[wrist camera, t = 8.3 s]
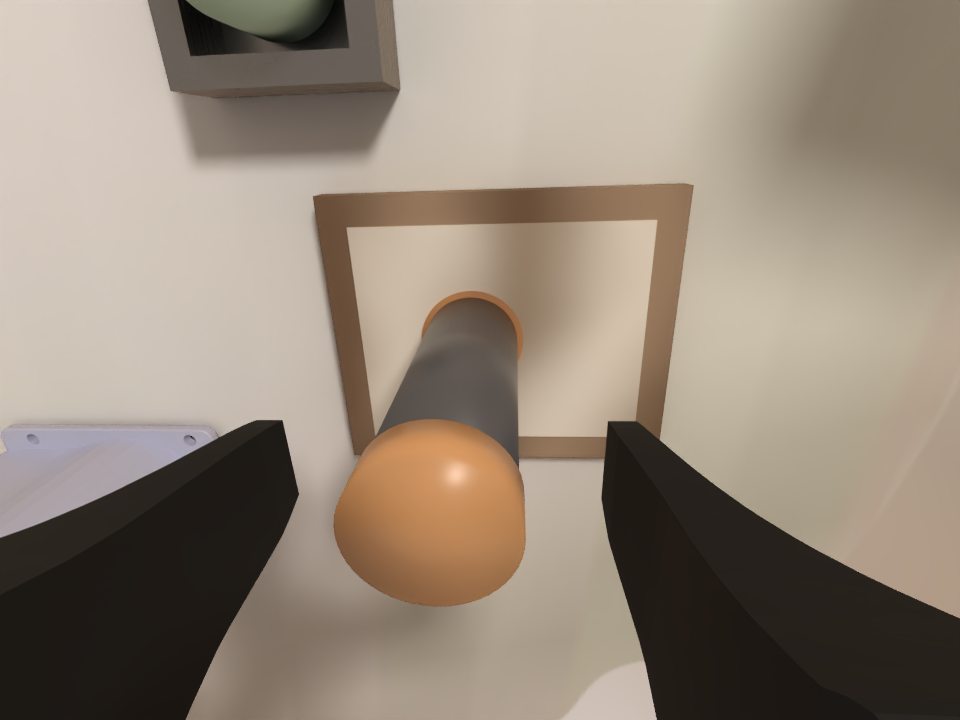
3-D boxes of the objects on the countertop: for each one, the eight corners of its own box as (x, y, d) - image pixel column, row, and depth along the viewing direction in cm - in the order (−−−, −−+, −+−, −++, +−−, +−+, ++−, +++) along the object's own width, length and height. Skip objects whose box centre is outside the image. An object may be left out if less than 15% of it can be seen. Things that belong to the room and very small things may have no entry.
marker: (428, 384, 18) (348, 603, 9) (420, 294, 17) (319, 455, 8) (520, 384, 18) (525, 609, 9) (519, 293, 16) (525, 457, 8)
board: (360, 444, 21) (353, 457, 20) (321, 194, 17) (310, 197, 16) (651, 446, 20) (658, 461, 19) (685, 183, 16) (695, 185, 15)
